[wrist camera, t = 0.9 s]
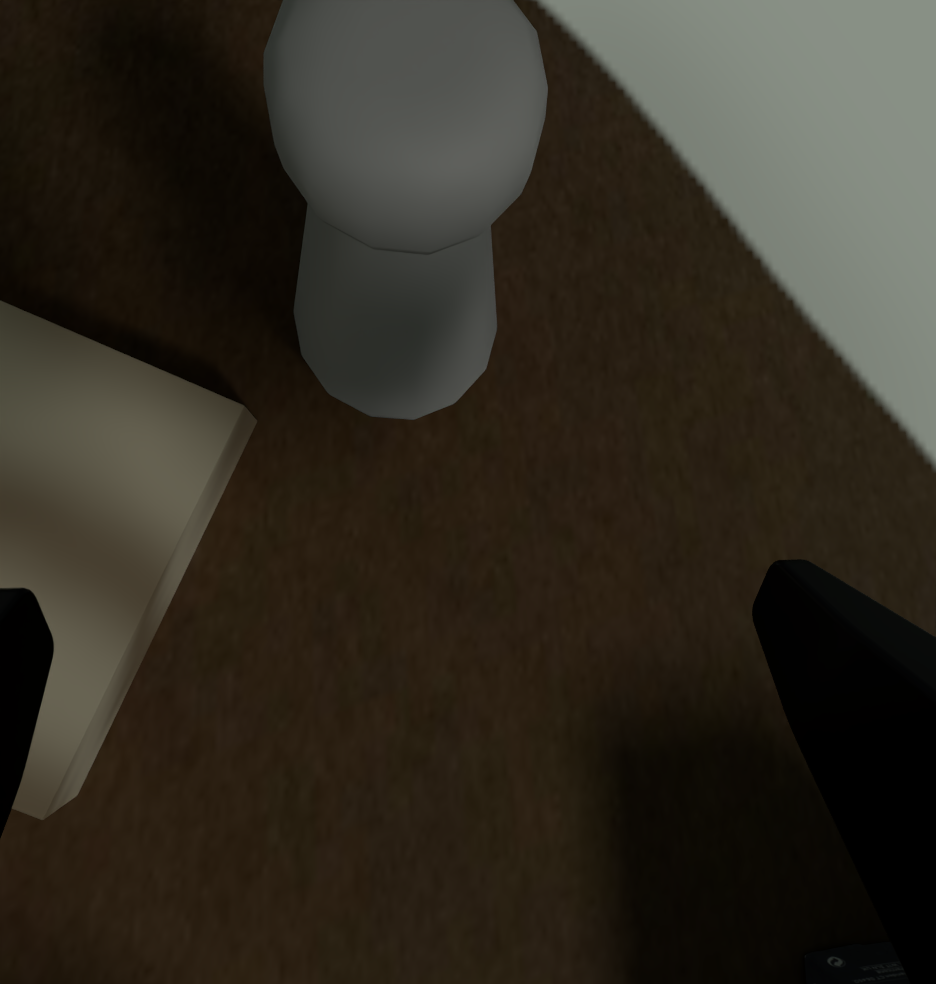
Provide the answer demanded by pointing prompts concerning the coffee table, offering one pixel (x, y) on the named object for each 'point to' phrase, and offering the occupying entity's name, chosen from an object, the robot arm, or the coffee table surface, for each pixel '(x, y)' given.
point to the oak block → (98, 521)
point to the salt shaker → (402, 184)
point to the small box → (855, 965)
